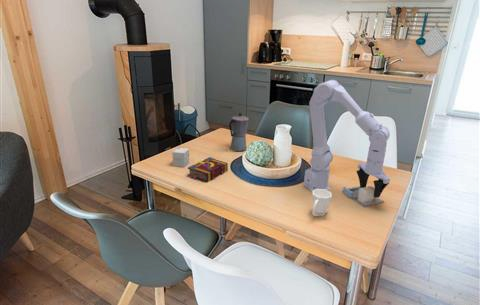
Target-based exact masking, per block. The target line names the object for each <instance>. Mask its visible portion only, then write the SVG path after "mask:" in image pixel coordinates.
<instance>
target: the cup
mask: <svg viewBox="0 0 480 305" xmlns="http://www.w3.org/2000/svg"><path fill="white" fill-rule="evenodd" d="M332 197H333V196H332V192H331V191H329V190H325V189H316V190H313V192H312V206H313V207H312V215H313V216H314V217H323V216H325V215H326V213H327V211H328V209H329V206H330V202H331V199H332Z"/></svg>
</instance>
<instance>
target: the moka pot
mask: <svg viewBox="0 0 480 305" xmlns="http://www.w3.org/2000/svg"><path fill="white" fill-rule="evenodd" d="M249 121H250V119H249V117H248V116H245V115H243V114H242V113H241V112H238V115H237V116H234V115H233V116H232V117H230V122H229V123H228V125H229V126H228V127H229V130H230V131H229V132H230V136H231V142H230V151H231V150H232V151H234V152H244V151H246V150H247V140H246V139H247V138H246V135H247V132H248V126H249Z"/></svg>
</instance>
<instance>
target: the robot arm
mask: <svg viewBox="0 0 480 305" xmlns="http://www.w3.org/2000/svg"><path fill="white" fill-rule="evenodd" d="M329 100H330V102H334V103H335V102H337V103H339V104H341V105H342V107H344V108H345V109H346V110H347V111H348V112H349V113H350V114H352V115H353V117H355V119H354V120H355V124H356V125H357V126H358V127H359V128H360V129H361V130H362V131H363V133H365V134H366V135H367V136H368V141H369V147H368V151H367V159H366V164H365V163H364V162H361V163H357V168H358V170H356V174H357V177H358V180H359V186H360V188H364V187H367V184H368V180H369V178H370V176H372V177H375V178H376V180H373V186H374V187H375V190H374V197H375V198H377V197H379V198H380V197H381V195H382V193H383V191H384V190H385V188H386V187H387V186H388V185H389V184H390V181H391V177H389V176H388V175H387V174H385V172H384V169H383V167H384V162H385V157H386V152H387V143H388V140H389V138H390V136H391V135H390V134H391V132H390V130H389V129H388V127H386V126H384V125H383V124H382V123H379V121H378V120H377V119H376V118H375V117H374V116H375V115H374V113H372V112H371V113H370V112H369V111H364V110H363V109H362V108H361V107H360V106H359V105H358V104H357V102H356V101H355V100H354V99H353V97H352V96H351V95H350V94H349V93H348V91H347V90H346V89H345V87H344V86H343V85H341V84H340V82H339V81H337V80H336V79H330V80H328V81H325V82H321V83H320V82H319V84H318V85H317V86H315V87H314V88H313V93H312V95H311V98H310V100H309V103H308V104H309V105H308V106H309V112H310V113H309V114H310V123H311V131H312V141H313V148H312V150H311V158H310V161H309V163H310V168H308V169H306V170H305V171H304V179H303V183H302V186H304V187H306V189H307V190H309V191H310V192H311V193H313V190H316V189H325V190H327V191H329V190H332V187H331V186H329V177H330V171H331V170H330V169H331V166H330V164H331V163H332V162H333V159H334V155H333V153H332V151H331V147H330V145H329V144H328V140H327V139H328V138H327V128H326V126H327V125H326V118H325V108H324V107H325V105H326V104H327V103H328V102H329Z"/></svg>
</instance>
